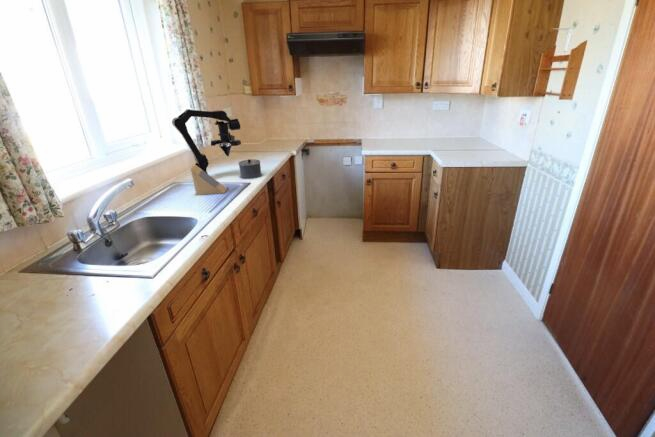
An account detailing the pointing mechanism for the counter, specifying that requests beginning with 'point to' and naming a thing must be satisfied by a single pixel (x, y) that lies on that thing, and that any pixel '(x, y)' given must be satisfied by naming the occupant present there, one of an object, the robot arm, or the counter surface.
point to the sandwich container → (205, 182)
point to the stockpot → (250, 168)
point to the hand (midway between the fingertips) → (228, 156)
